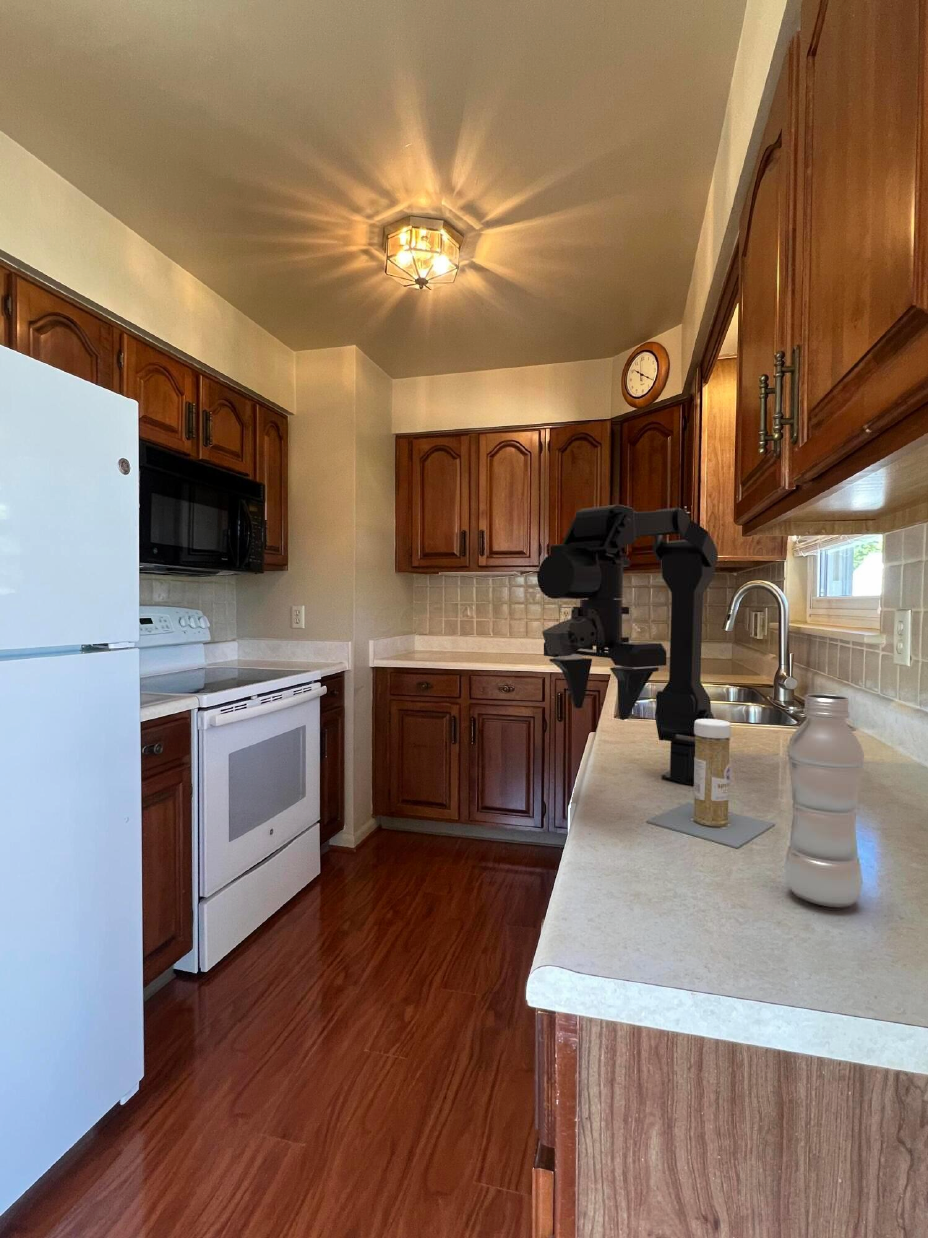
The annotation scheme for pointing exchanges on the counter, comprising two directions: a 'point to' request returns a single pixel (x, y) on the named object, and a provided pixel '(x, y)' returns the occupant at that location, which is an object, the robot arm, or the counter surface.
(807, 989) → the counter surface
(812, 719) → the plastic bottle
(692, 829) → the mat
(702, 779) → the sprinkles bottle
